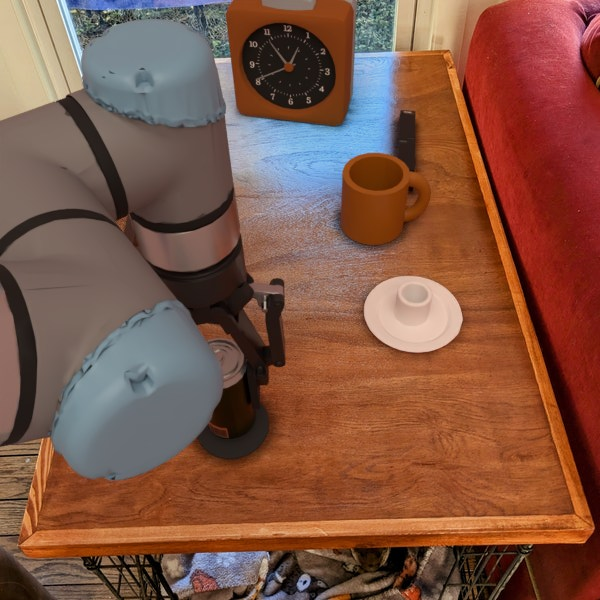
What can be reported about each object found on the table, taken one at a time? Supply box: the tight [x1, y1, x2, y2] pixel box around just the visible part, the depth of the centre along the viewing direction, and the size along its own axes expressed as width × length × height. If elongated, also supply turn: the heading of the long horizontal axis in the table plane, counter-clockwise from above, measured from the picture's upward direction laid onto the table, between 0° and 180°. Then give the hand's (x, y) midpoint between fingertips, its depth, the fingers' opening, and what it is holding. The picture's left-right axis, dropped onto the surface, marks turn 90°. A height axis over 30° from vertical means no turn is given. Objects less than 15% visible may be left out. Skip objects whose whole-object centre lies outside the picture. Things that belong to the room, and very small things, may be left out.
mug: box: [340, 152, 432, 246], centre depth 85 cm, size 9×12×9 cm
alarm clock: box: [225, 0, 358, 127], centre depth 99 cm, size 18×9×21 cm, turn 77°
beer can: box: [206, 337, 256, 440], centre depth 64 cm, size 5×5×12 cm
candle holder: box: [363, 275, 464, 353], centre depth 76 cm, size 12×12×4 cm
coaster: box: [197, 401, 270, 460], centre depth 69 cm, size 8×8×1 cm
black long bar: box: [396, 109, 416, 193], centre depth 97 cm, size 18×3×3 cm, turn 173°
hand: (226, 398), depth 64 cm, fingers closed on beer can, 5 cm apart
